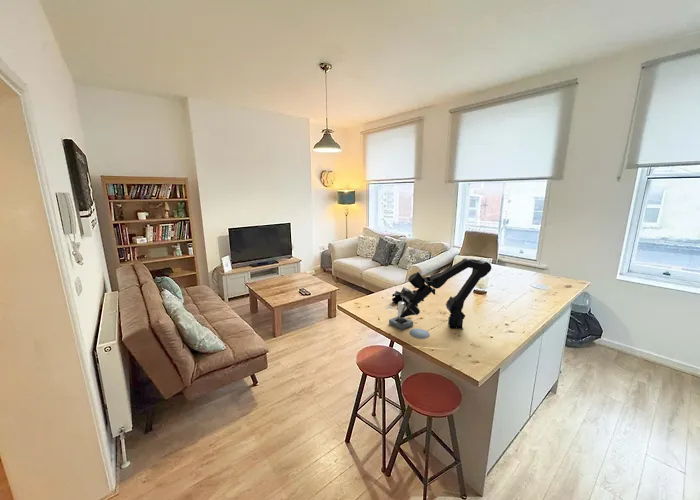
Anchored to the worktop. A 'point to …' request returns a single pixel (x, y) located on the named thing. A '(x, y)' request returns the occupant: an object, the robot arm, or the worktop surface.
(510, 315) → the worktop surface
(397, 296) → the end cap
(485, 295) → the worktop surface
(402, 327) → the socket block
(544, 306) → the worktop surface
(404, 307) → the steel peg
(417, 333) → the rubber pad
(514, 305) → the worktop surface
